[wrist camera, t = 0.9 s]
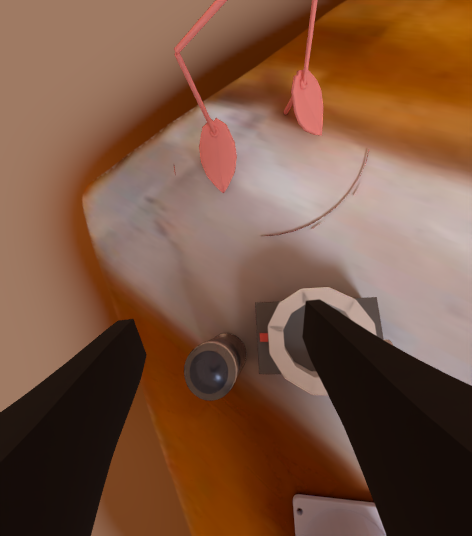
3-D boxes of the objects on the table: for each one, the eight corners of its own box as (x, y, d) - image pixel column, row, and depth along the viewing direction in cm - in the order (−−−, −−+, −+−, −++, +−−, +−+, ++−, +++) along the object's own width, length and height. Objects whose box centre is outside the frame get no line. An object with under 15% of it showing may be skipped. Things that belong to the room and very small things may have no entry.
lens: (247, 375, 21) (236, 403, 15) (208, 374, 22) (182, 401, 16) (245, 331, 22) (234, 342, 16) (207, 332, 22) (182, 342, 16)
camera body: (383, 376, 19) (416, 398, 14) (262, 374, 21) (258, 393, 16) (369, 288, 20) (395, 283, 16) (257, 293, 22) (252, 291, 18)
